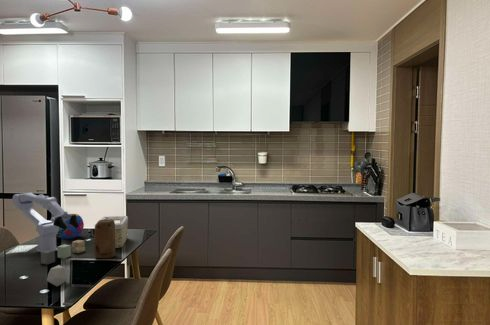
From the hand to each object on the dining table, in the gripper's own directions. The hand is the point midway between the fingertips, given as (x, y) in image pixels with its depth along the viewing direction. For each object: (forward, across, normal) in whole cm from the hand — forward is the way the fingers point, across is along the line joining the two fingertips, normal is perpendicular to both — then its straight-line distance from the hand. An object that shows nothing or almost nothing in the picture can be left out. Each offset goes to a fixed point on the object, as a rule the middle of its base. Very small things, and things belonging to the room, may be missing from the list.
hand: (72, 227), depth 198 cm
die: (+33, -29, +1) cm, 44 cm away
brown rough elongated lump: (+23, +8, +3) cm, 24 cm away
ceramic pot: (-20, +26, +29) cm, 44 cm away
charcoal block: (+7, -11, +16) cm, 20 cm away
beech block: (+5, +9, +15) cm, 18 cm away
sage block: (+6, -1, +15) cm, 16 cm away
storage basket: (+8, +29, +10) cm, 32 cm away
